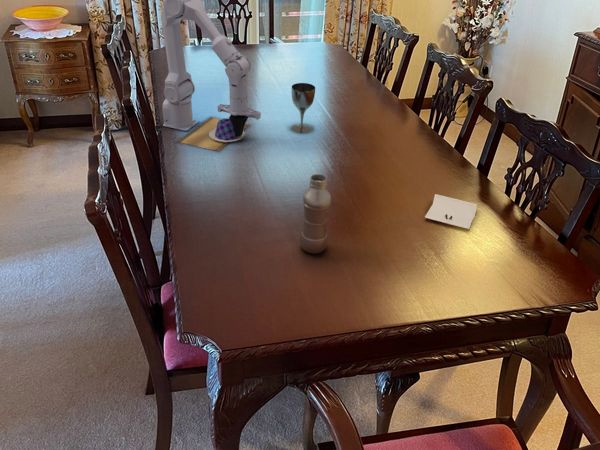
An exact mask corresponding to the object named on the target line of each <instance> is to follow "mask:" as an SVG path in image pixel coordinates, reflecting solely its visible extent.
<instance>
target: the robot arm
mask: <svg viewBox="0 0 600 450" xmlns="http://www.w3.org/2000/svg"><path fill="white" fill-rule="evenodd" d="M162 6H163V7H162V10H161V14H160V19H161V26H162V27H161V28H162V32H163V40H164V47H165V54H166V61H167V69H168V74H167V75H166V78H165V80H164V88H163V94H164V98H165V99H164V100H163V103H162V106H161V107H162V109H161V110H162V118H163V119H162V120H163V124H162V126H163V127H166V128H170V129H174V130H179V131H184V132H187V131H189V130H190V129H192V128H193V127H194V126H196V125H197V124H198V123H199V121H197V120H194V119H193V105H192V99H193V94H194V93H195V92H196V91H195V90H196V88H195V84H194V82H193V80H192V75H191V74H190V73H189V72H188V71H187V69H186V61H185V60H186V59H185V52H184V43H183V37H182V29H181V22H182V20H187V21H192V22H194V23H195V24H196V25H197V27H199V29H200V30H201V31H202V32H203V34H205V36H206V37H207V38H208V39H209V40H210V41H211V50H212V51H213V52H214V53H215V54H216V56H217V57H218V59H219V60H220V61H221V62H222V64H223V66H225V68H224V72H225V75H226V76H227V78H228V85H229V86H228V87H229V88H228V89H229V104H223V103H220V104H218V105H217V112H218V113H221V112H223V113H227V114H230V115H229V116H228V118H229V119H230V121H231V122H232V124H233V126H234V129H235V132H236V135H237V136H239V137H240V136H241V135H242V134H243V131H244V130H245V129H244V126H245V125H246V123H247V121H248V119H249V118H252V119H255V120H257V121H258V120H259V119H261V118H262V117H261V116H262V115H261V111H258V110H255V109H253V108H251V107H249V99H248V97H249V95H248V92H249V90H248V88H249V86H248V84H249V83H248V74H249V72H250V71H251V68H252V67H251V66H252V65H251V62H250V60H249V58H248V57H247V56H245V55H242V53H240V52H239V51H238V50H237V49H236V47H235V45H233V41H232V40H231V38H228V37H227V36H226V35H222V34H221V33H220V32H219V30H218V29H217V27H216V26H215V25H216V24H214V22H213V21H212V19H211V18H210V16H209V15H208V12H207V11H206V10H205V8H204V4H203V1H202V0H162ZM243 129H244V130H243Z"/></svg>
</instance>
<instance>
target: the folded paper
mask: <svg viewBox="0 0 600 450" xmlns="http://www.w3.org/2000/svg"><path fill="white" fill-rule="evenodd" d="M477 207H478V204H477V203H474V202H470V201H465V200H461V199H458V198H454V197H450V196H445V195H441V194H437V193H434V196H433V201H432V204H431V206H430V208H429V210H428V211H427V213H426V214H425V215H424V218H425V219H429V220H433V221H436V222H439V223H440V222H441V223H444V224H447V225H452V226H455V227H460V228H464V229H466V230H470V228H471V225H472V222H473V220H474V218H475V217H476V212H477Z"/></svg>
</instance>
